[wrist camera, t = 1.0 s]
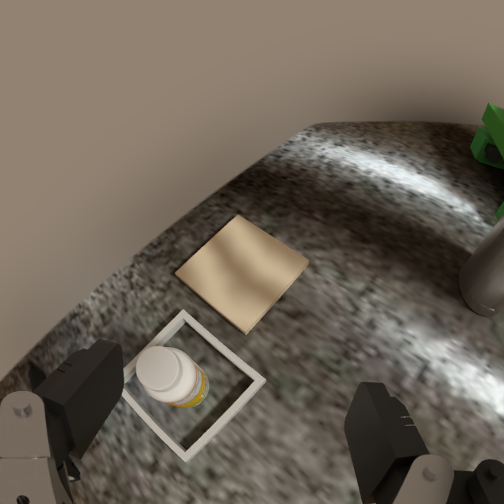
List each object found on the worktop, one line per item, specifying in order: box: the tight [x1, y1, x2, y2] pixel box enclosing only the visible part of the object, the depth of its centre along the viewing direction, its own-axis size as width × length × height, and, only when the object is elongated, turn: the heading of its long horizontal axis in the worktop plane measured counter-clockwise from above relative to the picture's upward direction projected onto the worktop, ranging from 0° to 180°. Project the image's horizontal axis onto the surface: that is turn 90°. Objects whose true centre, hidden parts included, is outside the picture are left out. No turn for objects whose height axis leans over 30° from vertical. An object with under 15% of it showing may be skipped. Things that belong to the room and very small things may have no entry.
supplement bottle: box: [136, 346, 209, 408], centre depth 28 cm, size 5×5×10 cm
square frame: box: [122, 309, 266, 462], centre depth 32 cm, size 13×13×1 cm
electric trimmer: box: [29, 368, 80, 482], centre depth 28 cm, size 4×16×3 cm, turn 26°
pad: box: [175, 215, 309, 335], centre depth 39 cm, size 12×12×1 cm
